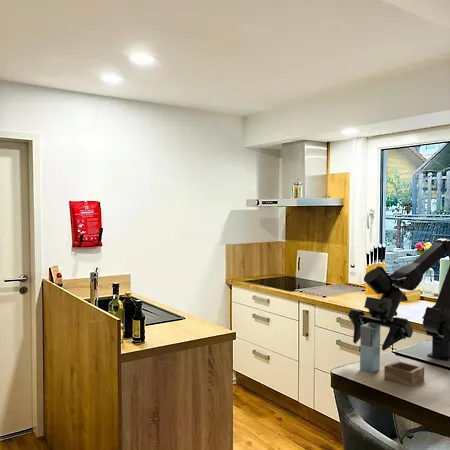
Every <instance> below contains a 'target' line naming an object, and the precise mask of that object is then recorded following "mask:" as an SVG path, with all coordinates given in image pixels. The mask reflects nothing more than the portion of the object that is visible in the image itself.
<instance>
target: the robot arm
mask: <svg viewBox="0 0 450 450" xmlns="http://www.w3.org/2000/svg"><path fill="white" fill-rule="evenodd" d="M447 254H448V259H449V260H448V261H450V238H438V239H436V240H435V241H434V243H433V244H432V245H430V246H429V247H428V248H427V249H426V250H425V251H424V252H422V253H421V254H420V255H419V256H417V258H415V259H414V261H412V262H411V263H409V264H407V265H404V266H401V267H399V268H398V269H396V270H394V272H393V273H392V274H388V273H387V272H386V270H385V268H384V267H383V266H378V265H377V266H376V267H375V268H374V269H371V270H369V271H367V272H366V273H365V275H364V276H363V281H364V282H365V284H367V285H368V287H369V288H370V289H371V290H372V291H373V292H374V293H375V294H377V295H381V296H380V297H379V298H378V297H377V298H376V297H370V296H366V298H365V302H364V308H365V309H368V314H369V315H370V316H368V315H366V314H365V313H364V311H363V310H359V309H353V308H352V309H350V310H349V312H348V314H347V317H348V318H349V320H350V322H351V323H352V325H353V337H352V338H353V339H352V342H353V344H354V345H355V344H357V342H359V340H361V325H364V324H367V323H369V324H374V325H379V326H380V327H384V328H389V329H388V330H389V332H388V334H387V335H386V337H385V339H384V341H383V343H382V345H381V350H382V351H386V350H387V349H389V348H390V347H391V346H393V345H394V344H395V343H398V342H399V341H401V340H406V339H407V338H408V339H411V337H412V336H413V333H414V329H413V327H412V325H411V322H409V320H408V318H402V317H398V314H399V313H398V311H397V310H398V308H399V306H400V304H401V302H404V303H405V302H408V296H407V295H406V293H405V292H404V291H402V290H406V291H411V292H412V291H414V290H415V289H417V287H418V286H419V285H420V283H421V282H422V281H423V277H424V274H425V273H427V272H428V271H429V270H430V269H431V268H432V267H433V266H435V264H437V263H438V262H439V261H440V260H441V259H442V258H443V257H444V256H445V255H447ZM424 311H425V312H424V314H423V316H422V325H423V328H424V329H425V333H426V335H427V336H430V337H432V338H431V339H432V340H431V352H430V353H428V354H427V357H430V358H434V359H435V358H436V359H440V360H444V361H450V265H449V266H448V269H447V271H446V274H445V277H444V280H443V282H442V285H441V288H440V291H439V294H438V296H437V299H436V302H435V304H434V305H433V306H427V307H426V308H425V310H424Z"/></svg>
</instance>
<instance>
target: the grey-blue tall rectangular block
mask: <svg viewBox="0 0 450 450" xmlns="http://www.w3.org/2000/svg"><path fill="white" fill-rule="evenodd" d="M359 340H360V342H359V343H360V345H359V347H360V348H359V350H360V351H359V354H360V355H359V370H360V371H363V372H367V373H371V374H373V373H376V372H378V371H380V370H381V369H380V365H381V364H380V363H381V360H380V359H381V326H379V325H374V324H370V323H367V324H364V325H361V337H360V339H359Z"/></svg>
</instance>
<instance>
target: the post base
mask: <svg viewBox="0 0 450 450" xmlns="http://www.w3.org/2000/svg"><path fill="white" fill-rule="evenodd" d="M383 375H384V376H383V377H384V380H387V381H391V382H393V383H398V384H401V385H405V386H407V387H413V386H415V385H417V384H419V383H421V382H423V381H425V366H421V365H420V366H419V365H418V364H417V365H416V364H413V363H408V362H406V361H405V362H404V361H401V360H397V361H394V362H392V363H388V364H386V365H384V374H383Z"/></svg>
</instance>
